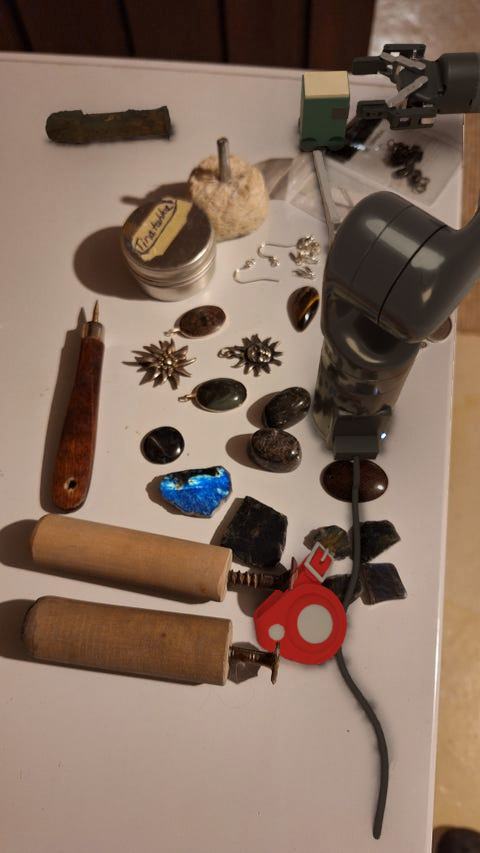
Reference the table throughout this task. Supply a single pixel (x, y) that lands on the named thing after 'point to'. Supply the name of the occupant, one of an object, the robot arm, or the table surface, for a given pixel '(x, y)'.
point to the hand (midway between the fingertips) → (354, 87)
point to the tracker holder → (304, 615)
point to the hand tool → (107, 124)
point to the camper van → (324, 110)
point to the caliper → (326, 196)
